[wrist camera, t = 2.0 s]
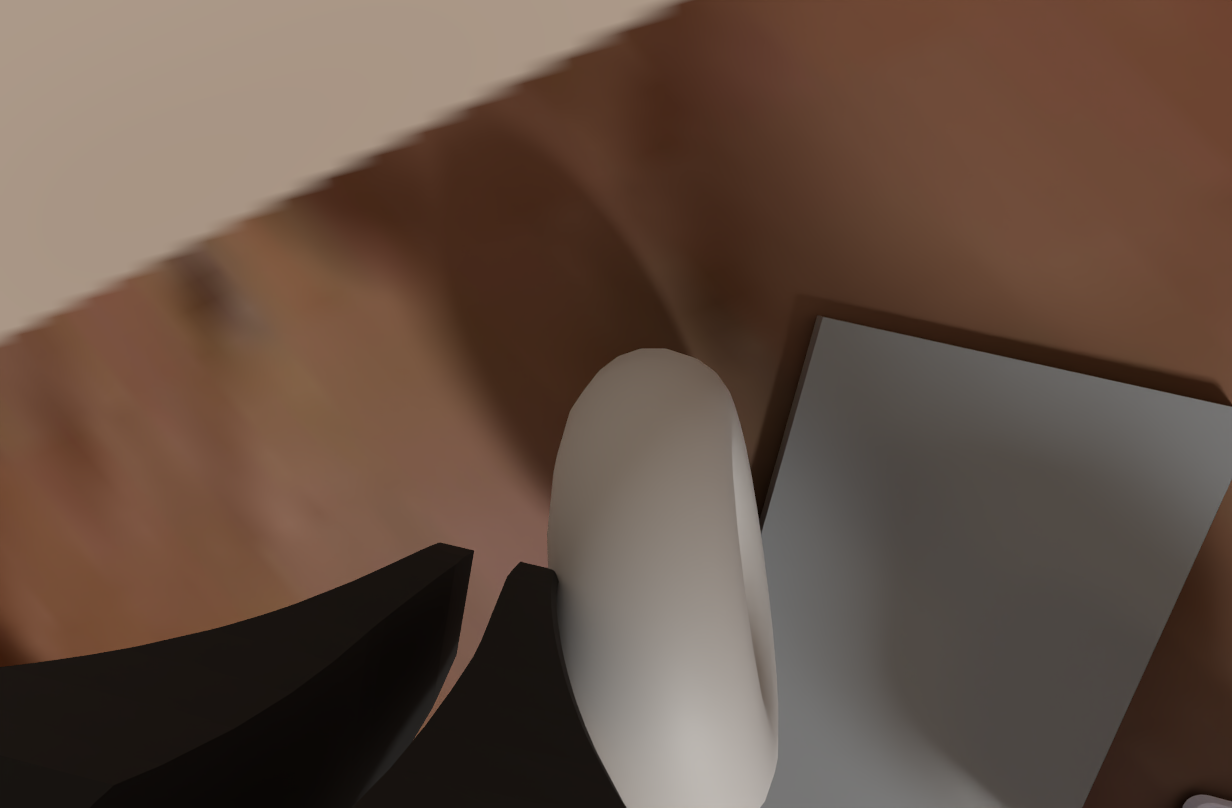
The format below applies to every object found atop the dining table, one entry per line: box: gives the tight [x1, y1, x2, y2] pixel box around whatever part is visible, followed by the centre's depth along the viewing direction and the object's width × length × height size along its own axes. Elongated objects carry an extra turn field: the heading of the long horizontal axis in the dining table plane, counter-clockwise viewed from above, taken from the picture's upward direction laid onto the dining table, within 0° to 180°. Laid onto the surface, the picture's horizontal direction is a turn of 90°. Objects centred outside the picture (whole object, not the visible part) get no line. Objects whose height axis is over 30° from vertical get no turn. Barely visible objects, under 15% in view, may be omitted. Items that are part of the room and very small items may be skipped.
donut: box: [547, 348, 778, 808], centre depth 14 cm, size 10×4×10 cm, turn 11°
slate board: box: [759, 315, 1232, 808], centre depth 19 cm, size 11×22×1 cm, turn 168°
